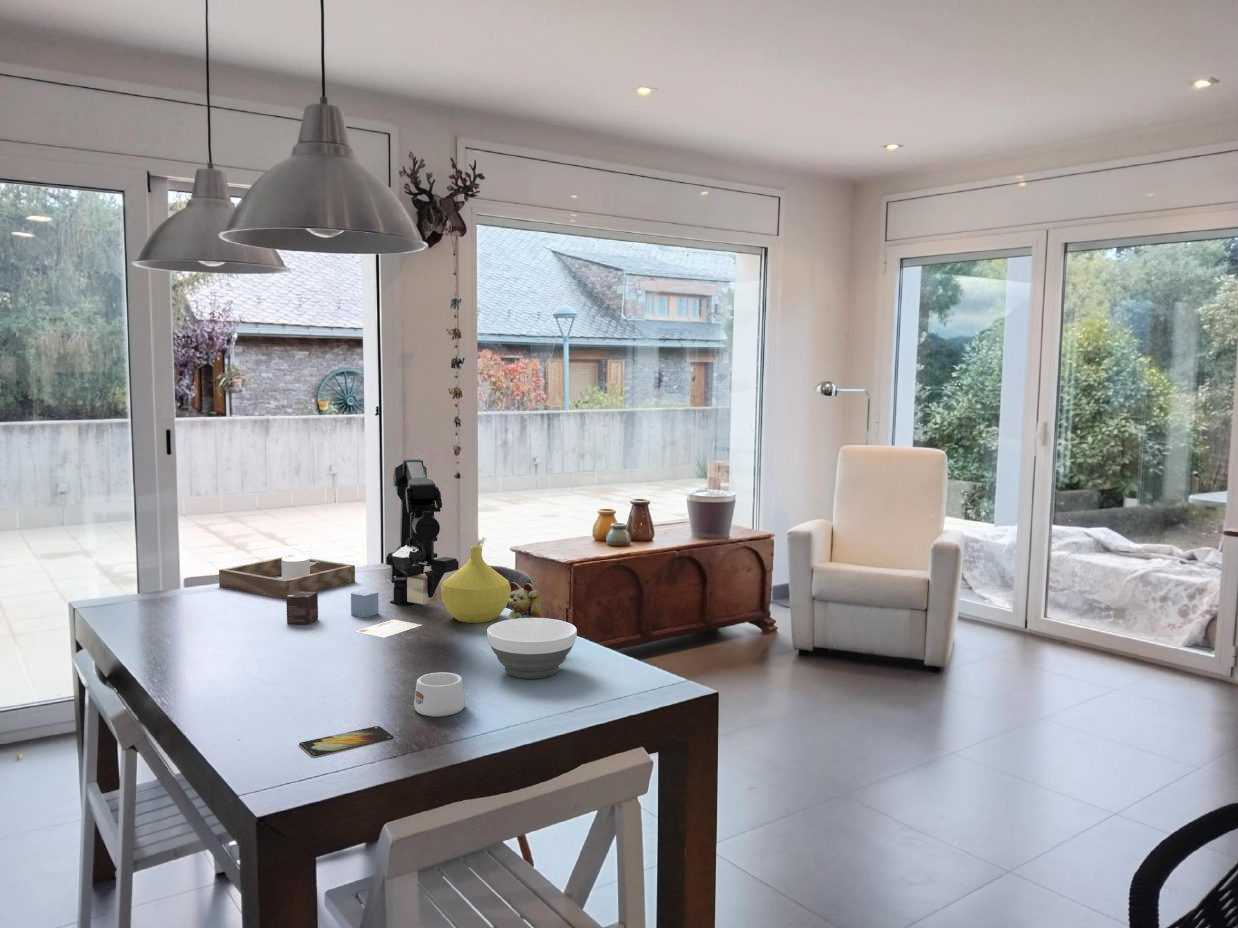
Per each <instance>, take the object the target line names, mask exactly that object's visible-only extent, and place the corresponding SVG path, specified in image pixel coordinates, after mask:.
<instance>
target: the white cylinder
mask: <svg viewBox="0 0 1238 928" xmlns="http://www.w3.org/2000/svg"><path fill="white" fill-rule="evenodd" d="M291 556H292V557H286V556H284V557H285V558H282V574H281V579H284V580H287V579H291V578H296V577H300V576H305V575H309V574H310V566H312V565H314V564H316V563H319V562H310V559H311V557H309V556H304V555H303V556H301V555H299V556H298V555H291Z"/></svg>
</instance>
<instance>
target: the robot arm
mask: <svg viewBox="0 0 1238 928" xmlns="http://www.w3.org/2000/svg"><path fill="white" fill-rule="evenodd" d="M427 471H428V470H427V466H425V465H424V461H423V459H419V458H409V459H408V458H407V459H405V460H403V461H402V463H401V464H399V465H398V466H396V467H395V468H394V471H393V476H392V477H393V479H392V480H393V481H392V482H393V483H392V484H393V487H395V491H396V495H397V497H398V498H399V500H400V523H399V524H400V525H399V546H398V547H397V548H396V550H395V551H393V552H389V553H388V554H387V556H386V558H385V561H386V562H385V563H386V566H390V569H389V580H390V582H391V584H394V585H393V599H392V600H390V601H389V603H391V604H395V605H400V606H405V607H406V606H411V605H413V604H415V603H413V602H407V577H411V576H415V575H418V574H425V575H426V576H427V578H428V597H429V598H431V597H433V595H434V593H435V590H436V588H438V587H439V584H440V582H441V580H442V578H444V577H443V576H444V575H445V574H446V573H450V572H454V571H455V572H456V571H458V570H459V569H460V568H459V565H460V564H459V563H460V562H459V561H458V559H457V558H455V557H448V556H443V557H440V558H439V557H438V553H436V552H435V542H438V535H440V534H439V533H440V530H441V526H440V523H439V521H438V520H437V519H436V517H435V513H440V512H441V509H442V507H443V502H442V494H441V491H440V490H439V487H438V486H436V482H434V480H433V479H430V478H428V472H427ZM425 567H429V570H427V571H425Z"/></svg>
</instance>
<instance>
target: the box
mask: <svg viewBox="0 0 1238 928" xmlns="http://www.w3.org/2000/svg"><path fill="white" fill-rule="evenodd" d="M318 593H319V592H318V591H315V592H301V591H296V592H294V593H292V594H290V595H288V596H287V597H286V599H285V600H286V601H285V602H286V624H287V625H309V626H310V625H311V624H312V623H314V622H315V621H317V620H319V604H318V603H319V598H318Z"/></svg>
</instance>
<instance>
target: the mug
mask: <svg viewBox="0 0 1238 928" xmlns="http://www.w3.org/2000/svg"><path fill="white" fill-rule="evenodd" d="M415 686H416V687H415V694H414V702H413V705H414V710H415V711H416V712H417V713H418V714H419V715H421V716H426V717H432V718H433V717H434V718H435V717H438V718H441V717H448V716H452V715H455V714H458V713H460V712H461V711H463V710H464V708H465V707H466V705H465V704H466V698H465V690H464V682H463V678H462V676H460V674H457V673H454V672H453V673H452V672H441V671H440V672H430V673H427V674H423V675H422V676H420V677H418V678H417V680H416V684H415Z"/></svg>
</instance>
